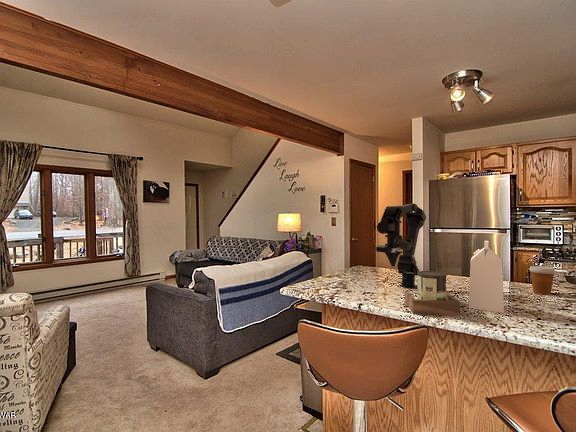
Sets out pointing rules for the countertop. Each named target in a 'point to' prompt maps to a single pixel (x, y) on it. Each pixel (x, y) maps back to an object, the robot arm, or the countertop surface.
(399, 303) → the countertop surface
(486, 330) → the countertop surface
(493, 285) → the milk
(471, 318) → the countertop surface
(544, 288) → the disposable coffee cup
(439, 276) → the coffee can
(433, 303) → the brown tray
